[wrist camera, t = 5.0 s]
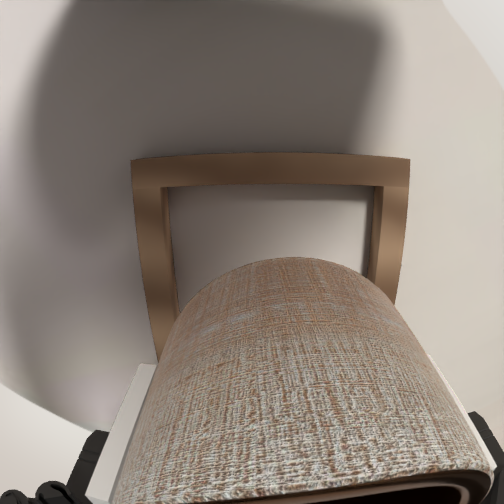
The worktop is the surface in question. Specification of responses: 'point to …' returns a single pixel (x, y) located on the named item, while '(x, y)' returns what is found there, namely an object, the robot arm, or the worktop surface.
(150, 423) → the planter
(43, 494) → the robot arm
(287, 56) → the worktop surface
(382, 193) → the holder frame
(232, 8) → the worktop surface
